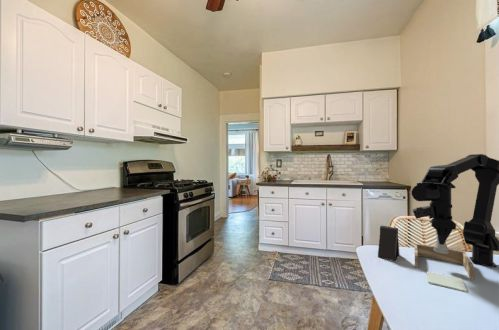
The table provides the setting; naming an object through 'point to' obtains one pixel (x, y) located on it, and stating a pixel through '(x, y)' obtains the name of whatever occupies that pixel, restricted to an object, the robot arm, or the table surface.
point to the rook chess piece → (440, 247)
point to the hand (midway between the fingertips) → (441, 243)
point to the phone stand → (388, 243)
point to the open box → (445, 257)
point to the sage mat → (446, 281)
